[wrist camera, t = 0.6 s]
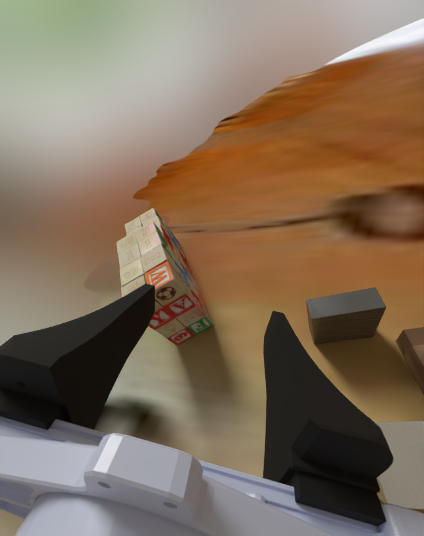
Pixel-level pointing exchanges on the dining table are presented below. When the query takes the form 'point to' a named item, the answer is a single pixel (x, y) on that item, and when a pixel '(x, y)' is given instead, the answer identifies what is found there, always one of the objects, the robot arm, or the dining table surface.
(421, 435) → the block
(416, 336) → the walnut bore block
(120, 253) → the stack of blocks
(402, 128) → the dining table surface
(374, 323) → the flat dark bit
